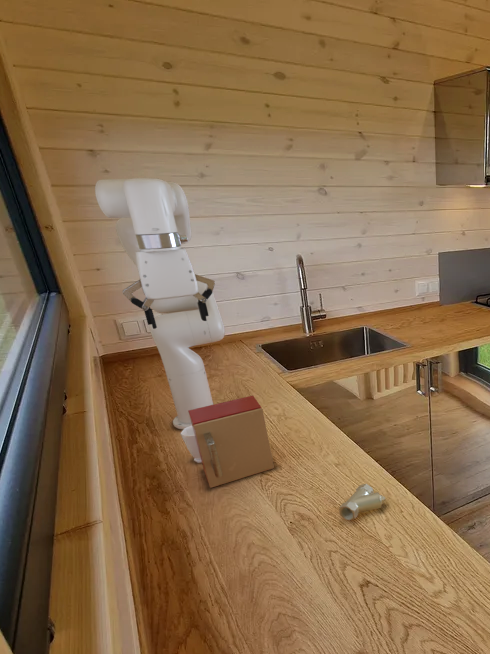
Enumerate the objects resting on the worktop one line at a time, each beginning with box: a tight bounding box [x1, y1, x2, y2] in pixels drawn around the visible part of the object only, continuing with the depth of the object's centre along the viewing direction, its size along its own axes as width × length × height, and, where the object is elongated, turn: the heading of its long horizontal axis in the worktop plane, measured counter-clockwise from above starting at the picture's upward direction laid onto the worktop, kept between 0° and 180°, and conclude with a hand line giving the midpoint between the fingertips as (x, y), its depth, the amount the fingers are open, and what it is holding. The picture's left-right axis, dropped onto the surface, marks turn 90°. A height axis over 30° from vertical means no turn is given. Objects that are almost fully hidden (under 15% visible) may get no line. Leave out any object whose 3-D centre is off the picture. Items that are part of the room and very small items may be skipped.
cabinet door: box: [194, 407, 275, 489], centre depth 108 cm, size 7×14×16 cm, turn 125°
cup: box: [179, 426, 202, 464], centre depth 121 cm, size 7×10×8 cm
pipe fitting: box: [338, 483, 386, 522], centre depth 100 cm, size 8×4×7 cm
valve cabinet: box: [188, 395, 262, 484], centre depth 114 cm, size 8×14×16 cm, turn 125°
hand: (179, 323), depth 107 cm, fingers open, 9 cm apart
